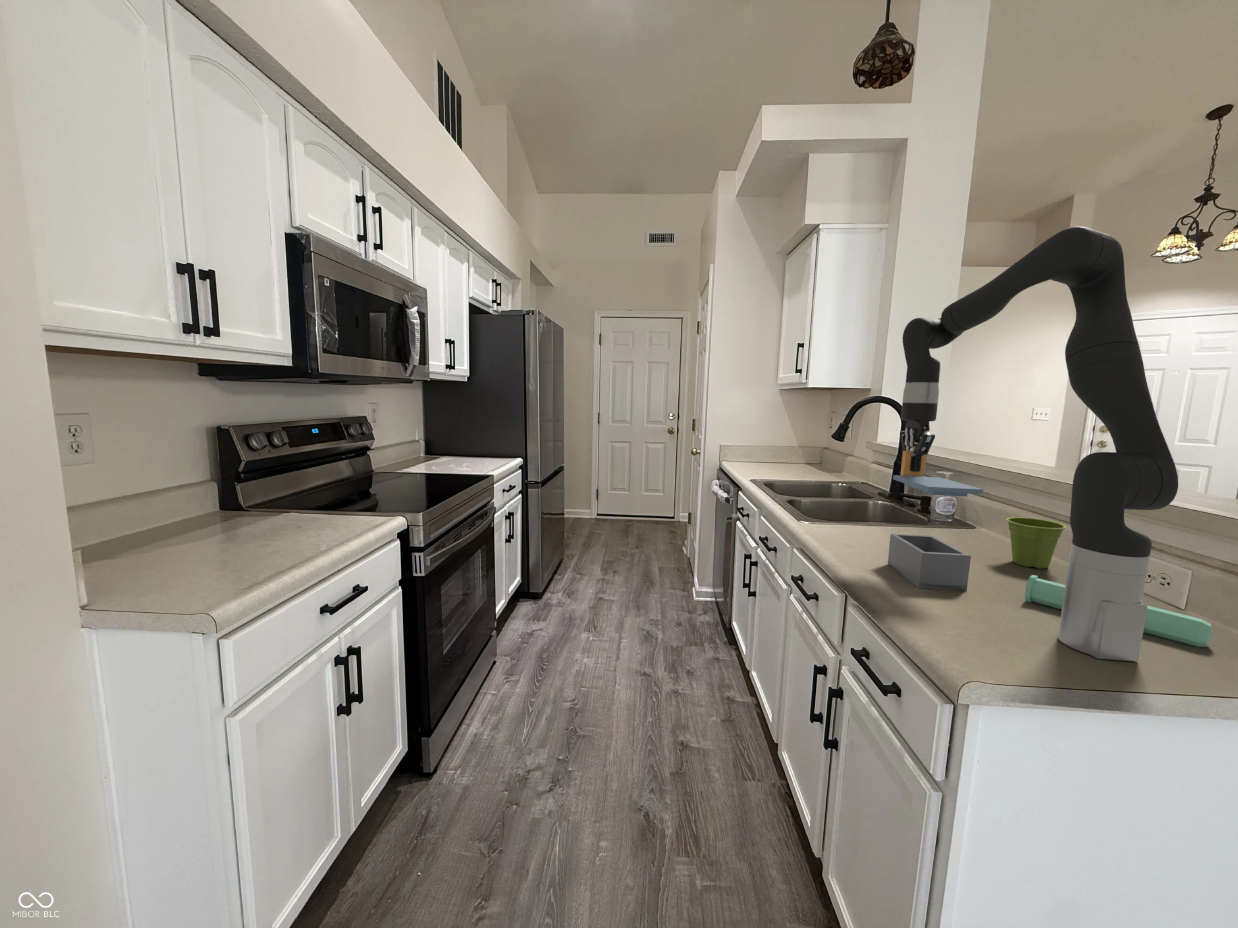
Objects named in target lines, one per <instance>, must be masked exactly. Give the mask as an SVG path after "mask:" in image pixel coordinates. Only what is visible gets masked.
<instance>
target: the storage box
mask: <svg viewBox="0 0 1238 928" xmlns="http://www.w3.org/2000/svg"><path fill="white" fill-rule="evenodd" d="M889 535H890V536H889V545H888V546H889V547H888V557H887V566H889V565H890V566H891V567H890V566H889V567H890V568H891V569H894V571H896V573H898V574H899V575H901V576H902V577H904V578H905V579H907V580H908V581H909V582H910V583H911V584H913V585H914V586H916V587H917V588H919V589H930V590H931V589H932V590H945V591H961V592H963V591H964V592H965V591H966V592H967V591H968V583H969V574H970V567H971V559H972V558H971V557H972V555H970V553H969V554H968V553H967V552H966V551H963V550H961V549H959V548H958V547H955V546H953V545H951V544H949V543H947V542H945V541H944V540H941V539H940V538H938V537H936V536H934V535H922V534H921V535H920V534H907V533H906V534H903V533H890V534H889Z"/></svg>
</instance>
